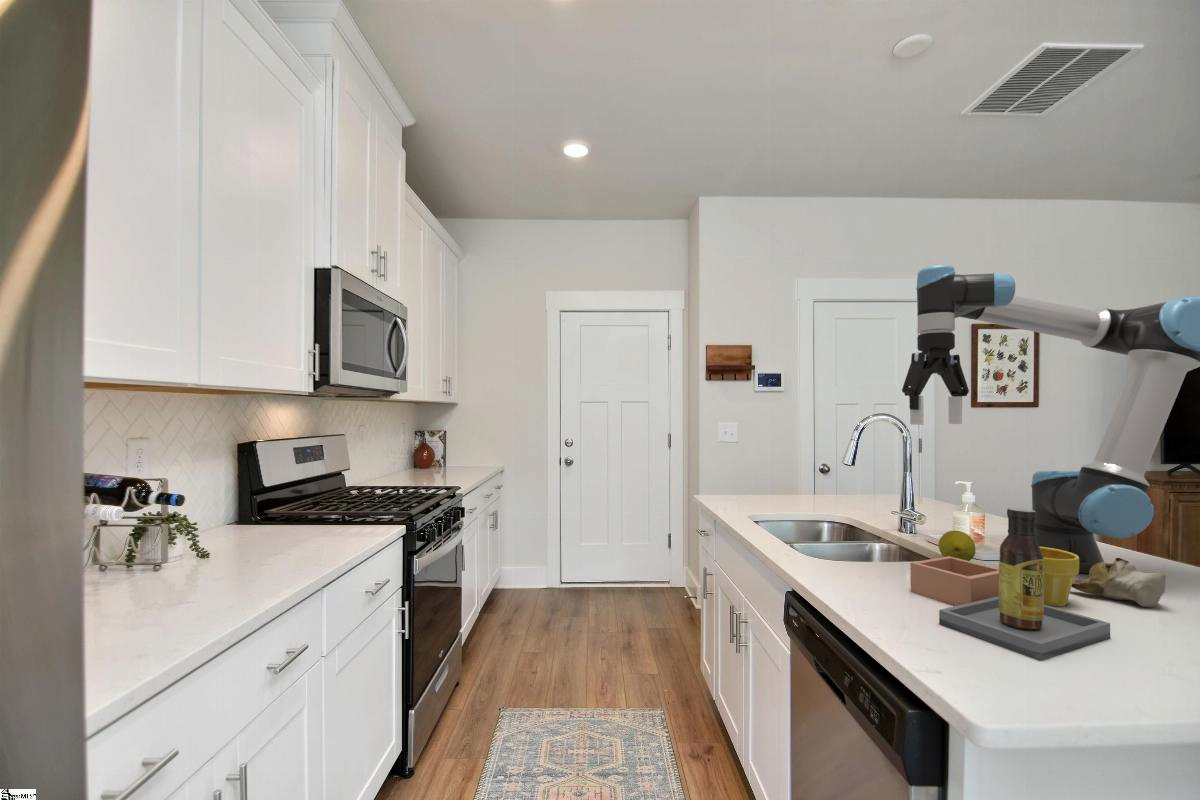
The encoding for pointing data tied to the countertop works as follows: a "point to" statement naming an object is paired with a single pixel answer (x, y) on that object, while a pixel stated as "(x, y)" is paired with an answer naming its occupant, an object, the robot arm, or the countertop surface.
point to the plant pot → (1058, 575)
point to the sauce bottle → (1021, 573)
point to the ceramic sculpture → (1123, 583)
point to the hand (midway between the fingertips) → (936, 424)
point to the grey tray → (1049, 641)
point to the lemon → (957, 545)
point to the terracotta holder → (954, 580)
